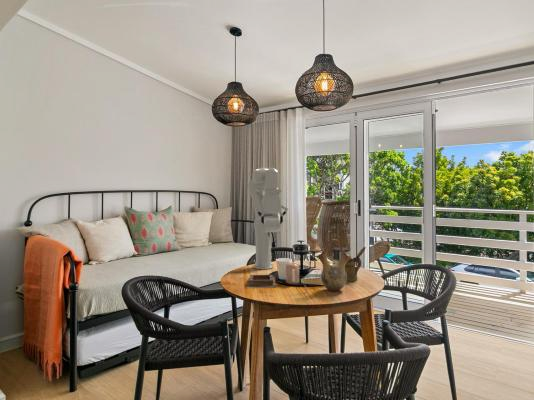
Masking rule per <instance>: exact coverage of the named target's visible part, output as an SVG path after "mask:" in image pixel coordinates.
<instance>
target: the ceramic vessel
mask: <svg viewBox="0 0 534 400" xmlns="http://www.w3.org/2000/svg"><path fill="white" fill-rule="evenodd" d="M331 242H336V243H337V245H338V247H339V248H340V252H341V260H340V261H339V262H338V263H337V264H333V263H331V262H330V261H329V260H328V259H327V257H328V255H327V254H328V249H329V246H330V244H331ZM342 247H343V246H342V245H341V242H340V240H338V239H336V238H331V239H329V240H328V241H327V243H326V246H325V247H324V250H323V251H322V252H321V253H320V254H318V255H316V258H317V260H319V261H320V263H321V265H322V270H321V275H320V278H321V282H322V285H323V286H324V288H326V289H327V290H328V291H332V292H339V291H340V290H342V289H344V287H345V286H346V284H347V282H346V280H347V275H346V271H345V264H346V262H347V261H348V260H349V259H350V258H352V256H351V255H350V256H349V255H347V254H346V253H345V252H344V251H343V249H342Z"/></svg>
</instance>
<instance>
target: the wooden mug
mask: <svg viewBox="0 0 534 400" xmlns="http://www.w3.org/2000/svg"><path fill="white" fill-rule="evenodd" d="M365 251H366V246H363V247H362V248H361V249H360V250H359V252H358V253H357V255H356V256H355V257H353V258H352V257H351V258H350V259H349V260H348V261H347V262H346V264H345V271H346V275H347V280H346V283H348V282H349V283H352V282H353V283H354V282H357V281H358V272H359V270H360V268H361V267H362V260H361V258H360V257H361V256H362V254H364V252H365ZM356 264H357V266H356Z"/></svg>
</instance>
